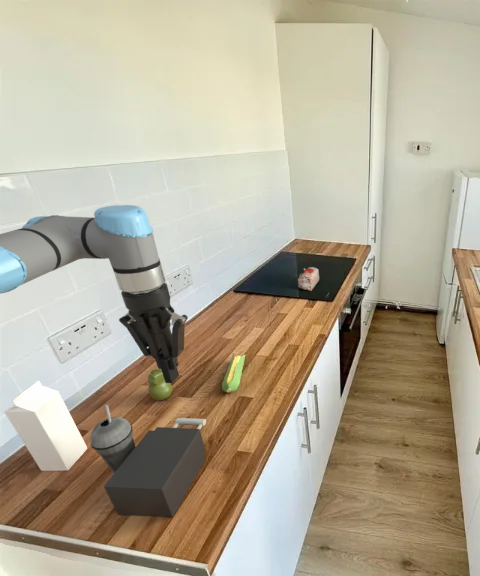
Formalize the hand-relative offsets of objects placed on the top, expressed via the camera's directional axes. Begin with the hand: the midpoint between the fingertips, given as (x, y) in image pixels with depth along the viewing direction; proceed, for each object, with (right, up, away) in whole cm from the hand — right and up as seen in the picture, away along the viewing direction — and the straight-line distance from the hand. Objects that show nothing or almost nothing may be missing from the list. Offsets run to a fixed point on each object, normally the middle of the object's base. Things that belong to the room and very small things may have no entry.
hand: (172, 378), depth 74 cm
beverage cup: (-12, -22, +2) cm, 26 cm away
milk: (-28, -21, +4) cm, 35 cm away
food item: (+9, +22, +96) cm, 99 cm away
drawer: (-1, -21, +3) cm, 22 cm away
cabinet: (-1, -24, 0) cm, 24 cm away
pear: (-18, -12, +23) cm, 31 cm away
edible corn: (0, -8, +33) cm, 34 cm away
